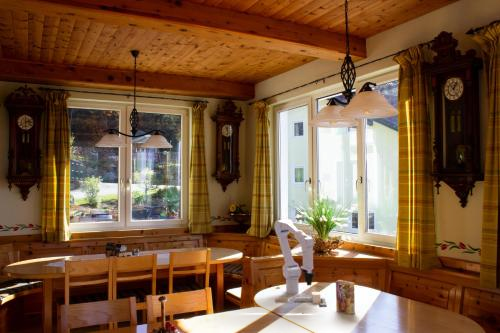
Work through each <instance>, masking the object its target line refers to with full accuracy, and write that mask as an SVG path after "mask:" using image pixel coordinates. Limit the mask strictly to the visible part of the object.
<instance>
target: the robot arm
mask: <svg viewBox="0 0 500 333" xmlns="http://www.w3.org/2000/svg"><path fill="white" fill-rule="evenodd" d="M273 227H274V230H275V234H276V236H277V239H278V242H279V245H280V249H281V253H282V256H283V260H284V264H283V265H282V275H283V277H284V278H285V287H286V288H285V292H286V293H287V294H292V295H294V294H299V292H300V290H299V280H300V277H301V275H302V272H303V275H304V281H305V283H306V285H307V286H311V285H312V283H313V277H314V275H315V272H313V271H312V270H313V269H314V247H315V244H316V242H315V239H314V237H313V236H308V235H307V234H306V233H305V232H304V231H303V230H300V229H298V228H297V227H296V226H295V225H294V222H293V221H292V219H290V218H289V219H279V220H278V219H277V220H276V221H275V222H274V226H273ZM290 233H291V234H292V235H293V237H294V239H295V240H296V241H297V242H299V244H300V247H301V251H302V266H300V265H299V263H298V262H296V261H295V260H294V257H293V254H292V250H291V247H290V243H289V240H288V235H289V234H290Z"/></svg>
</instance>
